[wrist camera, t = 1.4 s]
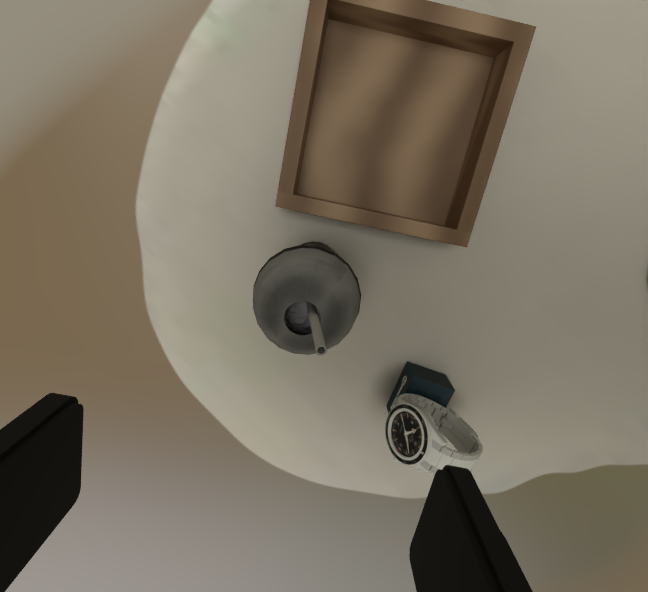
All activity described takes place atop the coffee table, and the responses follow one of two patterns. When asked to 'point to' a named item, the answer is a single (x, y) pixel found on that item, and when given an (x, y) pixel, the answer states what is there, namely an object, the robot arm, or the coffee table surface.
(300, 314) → the beverage cup
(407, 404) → the watch
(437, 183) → the walnut tray
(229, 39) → the coffee table surface
